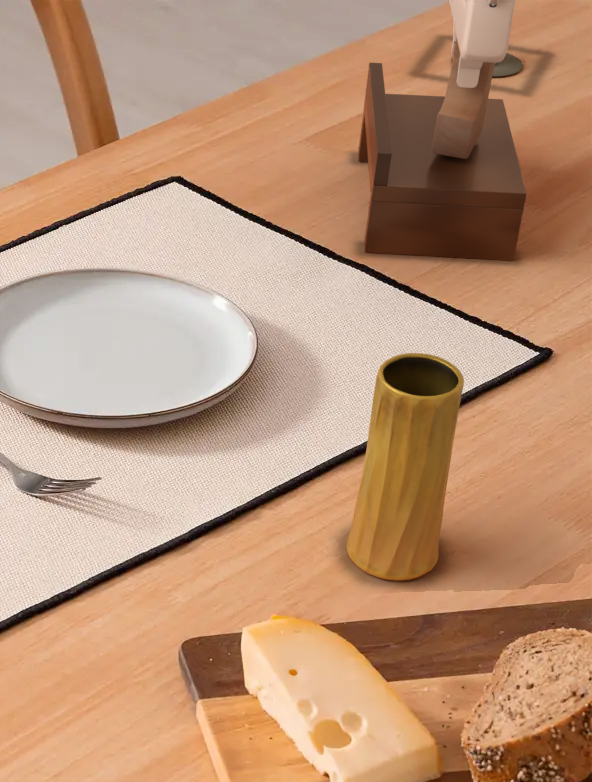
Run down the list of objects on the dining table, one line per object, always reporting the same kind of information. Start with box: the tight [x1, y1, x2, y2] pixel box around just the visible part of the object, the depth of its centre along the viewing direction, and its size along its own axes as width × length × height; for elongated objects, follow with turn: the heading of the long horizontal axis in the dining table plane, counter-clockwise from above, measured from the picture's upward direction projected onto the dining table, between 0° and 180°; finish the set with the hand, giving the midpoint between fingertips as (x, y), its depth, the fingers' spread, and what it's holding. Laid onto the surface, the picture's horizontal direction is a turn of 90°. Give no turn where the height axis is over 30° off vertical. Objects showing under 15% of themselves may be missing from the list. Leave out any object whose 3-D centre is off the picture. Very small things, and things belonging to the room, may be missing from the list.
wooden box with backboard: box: [357, 62, 527, 262], centre depth 142 cm, size 13×20×10 cm, turn 174°
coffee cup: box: [450, 52, 524, 78], centre depth 170 cm, size 12×12×5 cm
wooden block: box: [431, 4, 497, 159], centre depth 134 cm, size 7×3×15 cm, turn 157°
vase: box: [346, 352, 465, 581], centre depth 100 cm, size 6×6×14 cm
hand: (463, 73), depth 137 cm, fingers closed on wooden block, 4 cm apart
